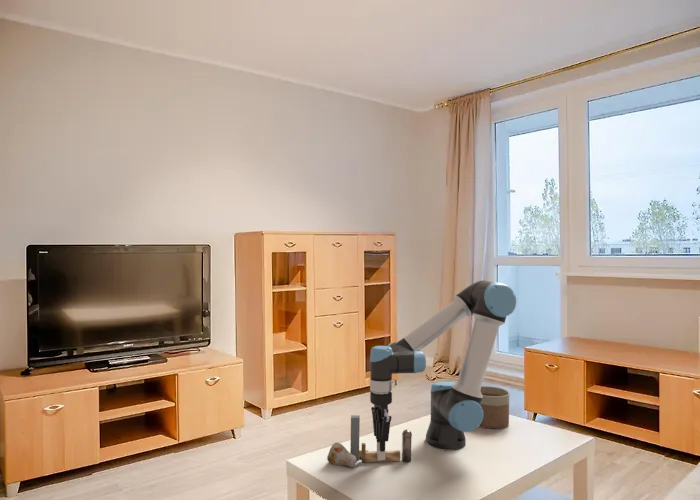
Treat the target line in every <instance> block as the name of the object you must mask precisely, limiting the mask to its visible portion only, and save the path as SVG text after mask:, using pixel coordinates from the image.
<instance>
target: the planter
mask: <svg viewBox="0 0 700 500" xmlns="http://www.w3.org/2000/svg"><path fill="white" fill-rule="evenodd" d="M480 392H481V394H482V396H483V399H482V402H481V405H480V406H481V407H482V410H483V420H482V422H481V424H480V425H479V426H478V427H482V428H485V429H486V428H487V429H502V428H505V427H508V426H509V424H510V392H509V391H508V390H507V389H504V388H501V387H497V386H489V385H488V386H485V385H483V386H481V390H480Z"/></svg>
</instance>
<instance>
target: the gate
mask: <svg viewBox="0 0 700 500" xmlns="http://www.w3.org/2000/svg"><path fill="white" fill-rule="evenodd" d="M366 446H367V445H366V443H365V442H361V450H362V451H361V463H371V462H372V463H374V462H376V463H377V462H378V463H379V462H398V461H401V451H400V449H399V450H396V449H395V450H385V460H379V461H378V460H377V450H372V451H371V450H370V451H369V450H368V451H367V452H366V450H367V448H366Z"/></svg>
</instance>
